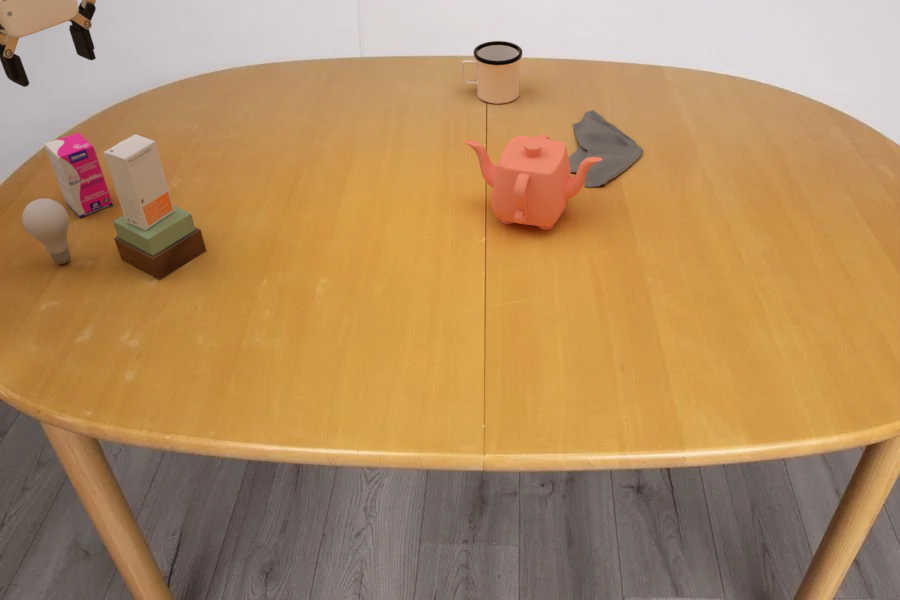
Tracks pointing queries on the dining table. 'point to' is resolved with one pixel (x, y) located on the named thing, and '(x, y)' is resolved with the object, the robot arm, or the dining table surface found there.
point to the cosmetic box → (139, 181)
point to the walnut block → (163, 254)
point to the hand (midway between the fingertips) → (54, 70)
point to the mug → (496, 71)
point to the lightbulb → (48, 227)
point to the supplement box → (79, 174)
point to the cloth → (602, 149)
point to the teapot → (531, 180)
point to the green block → (156, 231)
